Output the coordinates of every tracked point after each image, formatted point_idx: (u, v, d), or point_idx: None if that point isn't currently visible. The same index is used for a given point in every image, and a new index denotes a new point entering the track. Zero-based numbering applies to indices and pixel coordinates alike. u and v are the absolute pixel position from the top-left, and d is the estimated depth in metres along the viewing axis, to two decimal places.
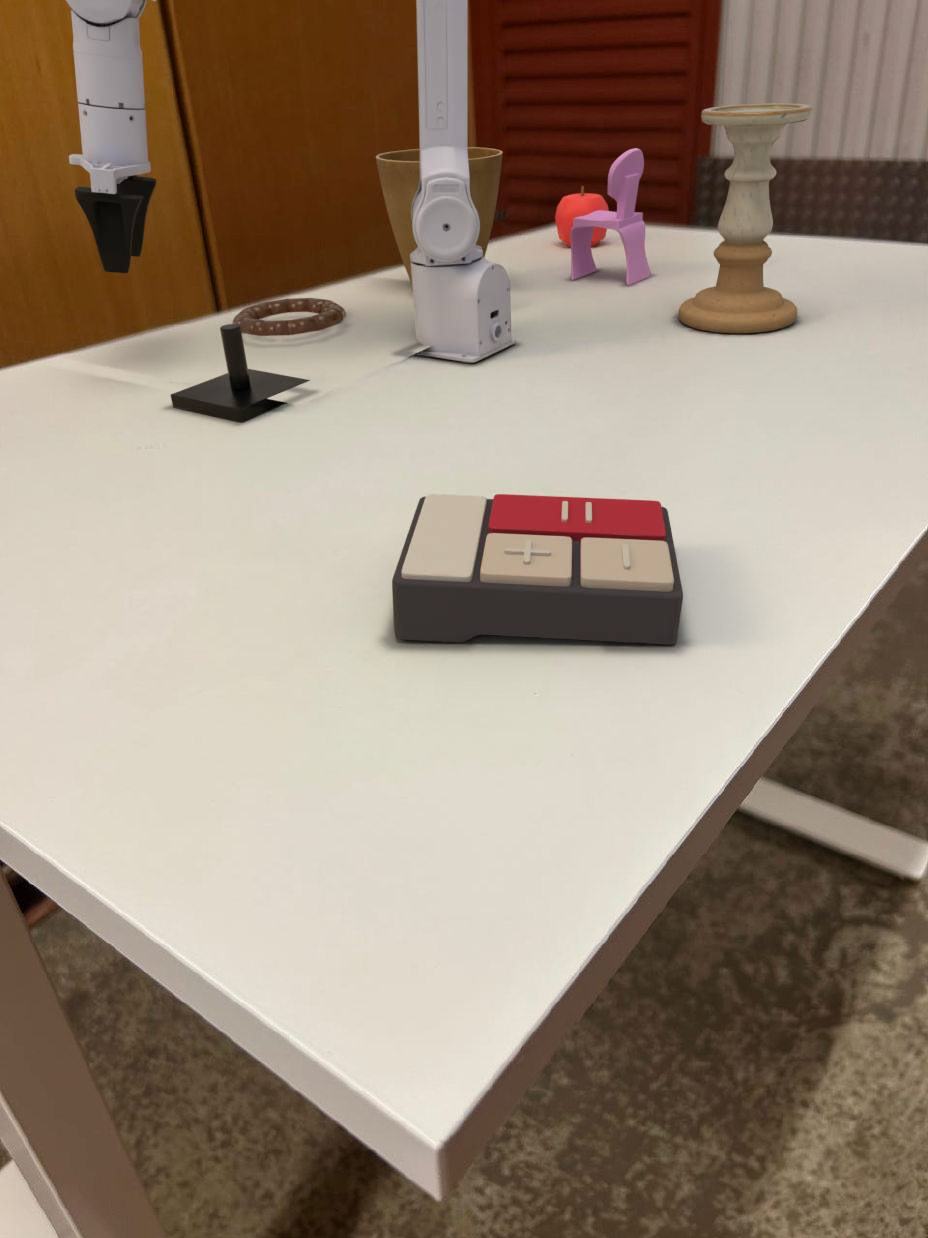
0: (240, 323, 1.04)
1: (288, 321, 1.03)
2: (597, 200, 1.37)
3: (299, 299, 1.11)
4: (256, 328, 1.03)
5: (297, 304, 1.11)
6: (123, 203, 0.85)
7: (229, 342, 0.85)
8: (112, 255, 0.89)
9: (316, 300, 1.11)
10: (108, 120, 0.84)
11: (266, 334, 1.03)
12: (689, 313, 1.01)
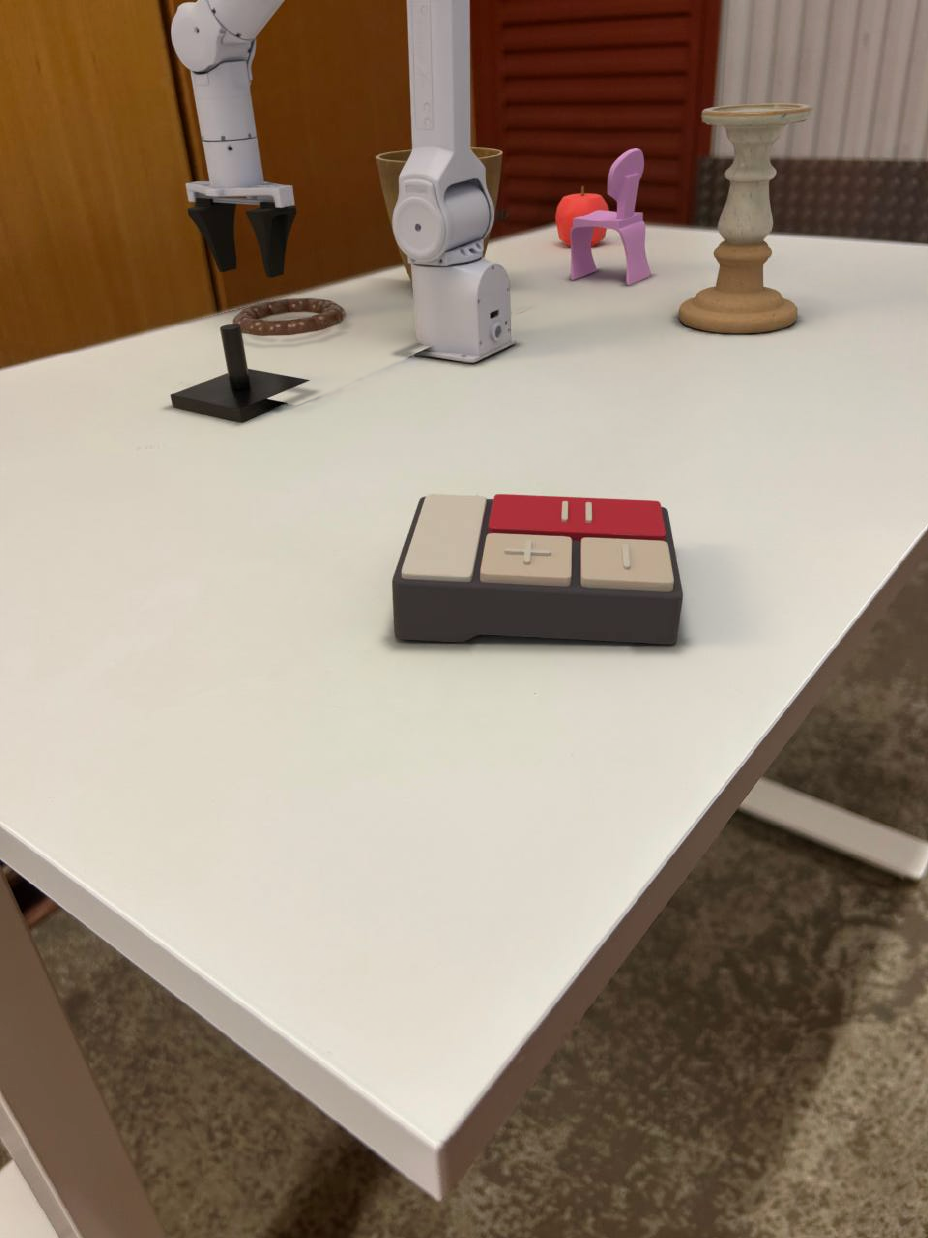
0: (240, 323, 1.04)
1: (288, 321, 1.03)
2: (597, 200, 1.37)
3: (299, 299, 1.11)
4: (256, 328, 1.03)
5: (297, 304, 1.11)
6: (290, 212, 1.03)
7: (229, 342, 0.85)
8: (275, 261, 1.05)
9: (316, 300, 1.11)
10: (251, 149, 1.00)
11: (266, 334, 1.03)
12: (689, 313, 1.01)
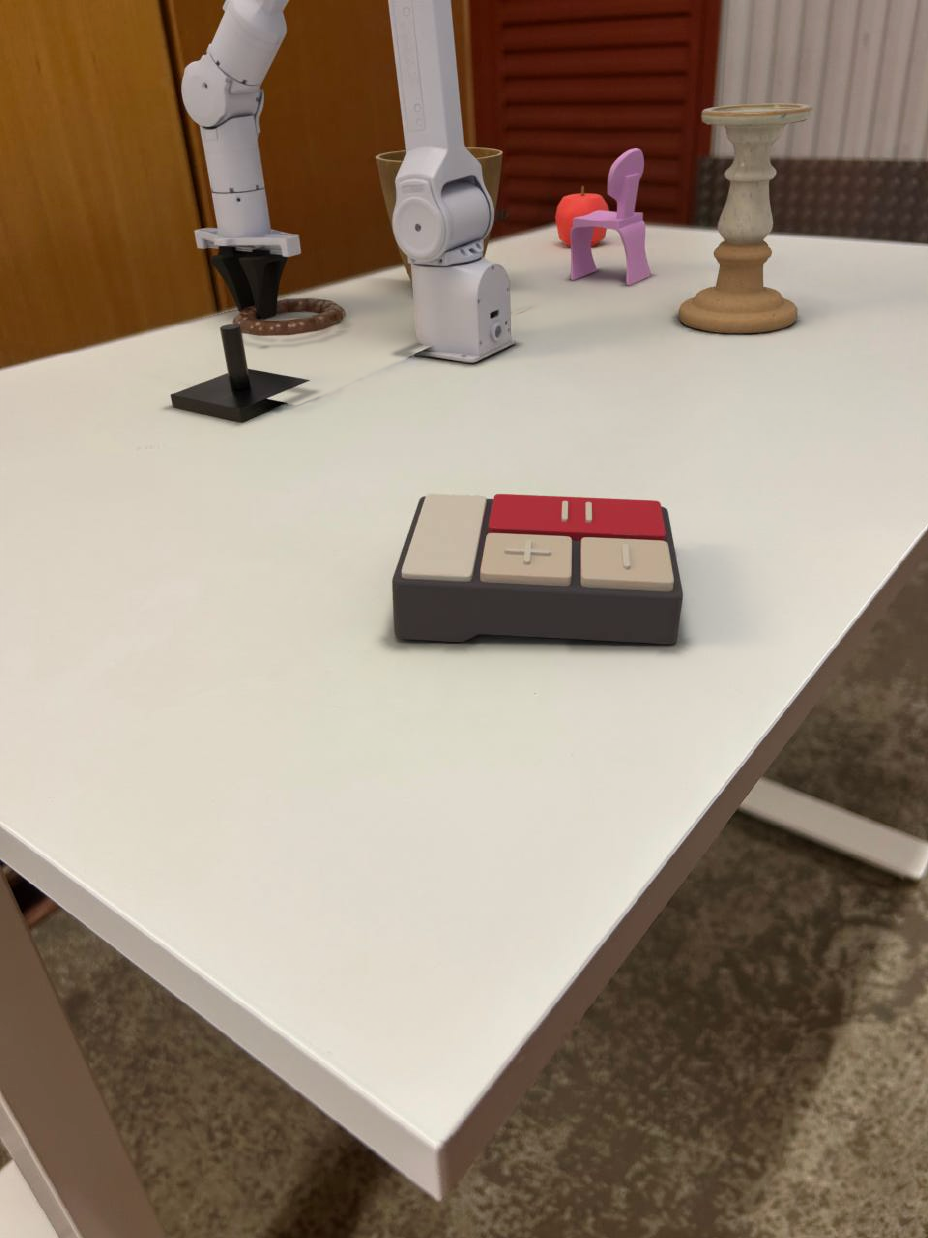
0: (240, 323, 1.04)
1: (288, 321, 1.03)
2: (597, 200, 1.37)
3: (299, 299, 1.11)
4: (256, 328, 1.03)
5: (297, 304, 1.11)
6: (282, 259, 1.06)
7: (229, 342, 0.85)
8: (267, 305, 1.09)
9: (316, 300, 1.11)
10: (258, 200, 1.03)
11: (266, 334, 1.03)
12: (689, 313, 1.01)
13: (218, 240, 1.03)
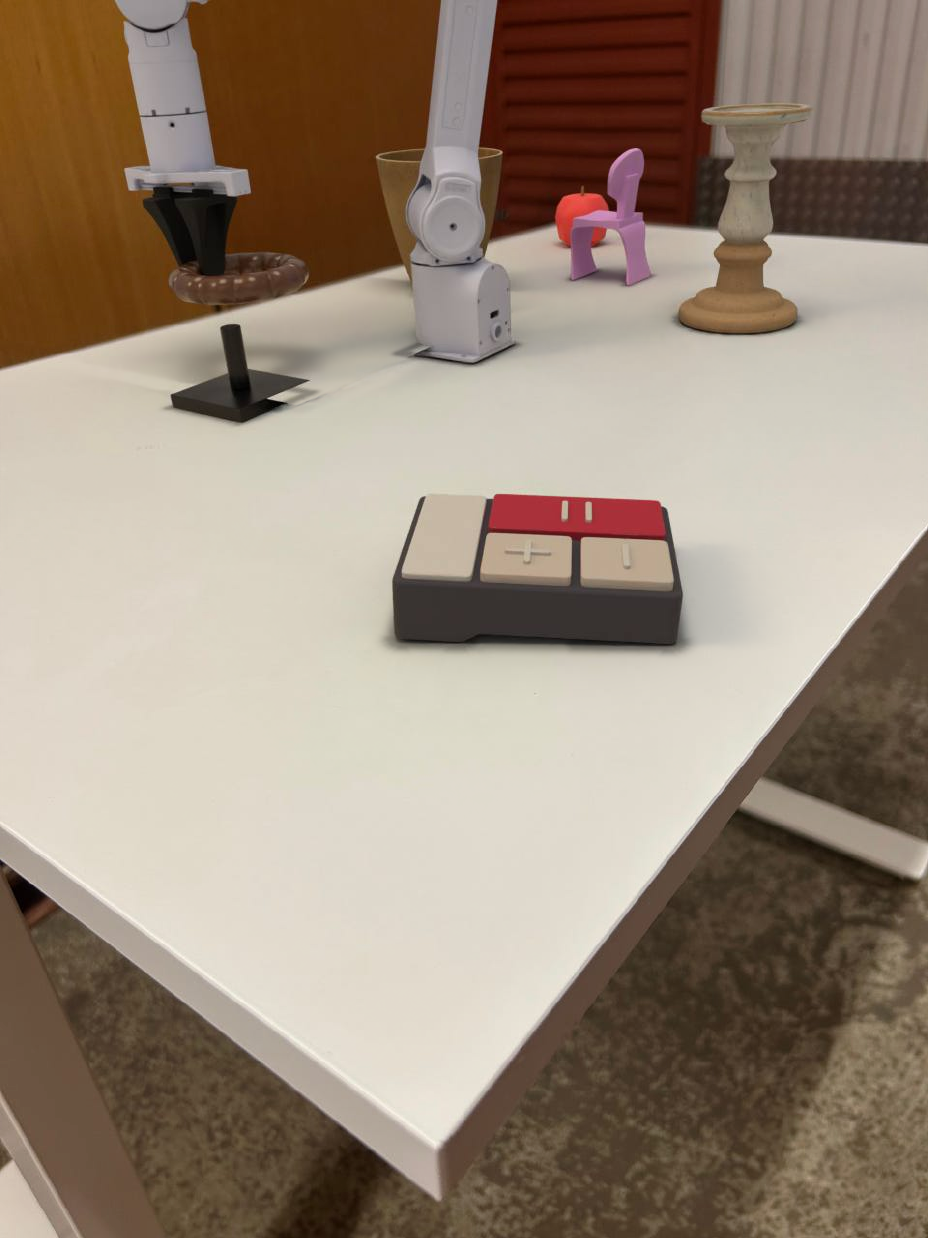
0: (176, 280, 0.85)
1: (234, 276, 0.83)
2: (597, 200, 1.37)
3: (253, 253, 0.92)
4: (195, 285, 0.83)
5: (250, 259, 0.91)
6: (229, 201, 0.87)
7: (229, 342, 0.85)
8: (213, 259, 0.89)
9: (273, 254, 0.91)
10: (198, 126, 0.83)
11: (207, 292, 0.83)
12: (689, 313, 1.01)
13: (148, 176, 0.84)
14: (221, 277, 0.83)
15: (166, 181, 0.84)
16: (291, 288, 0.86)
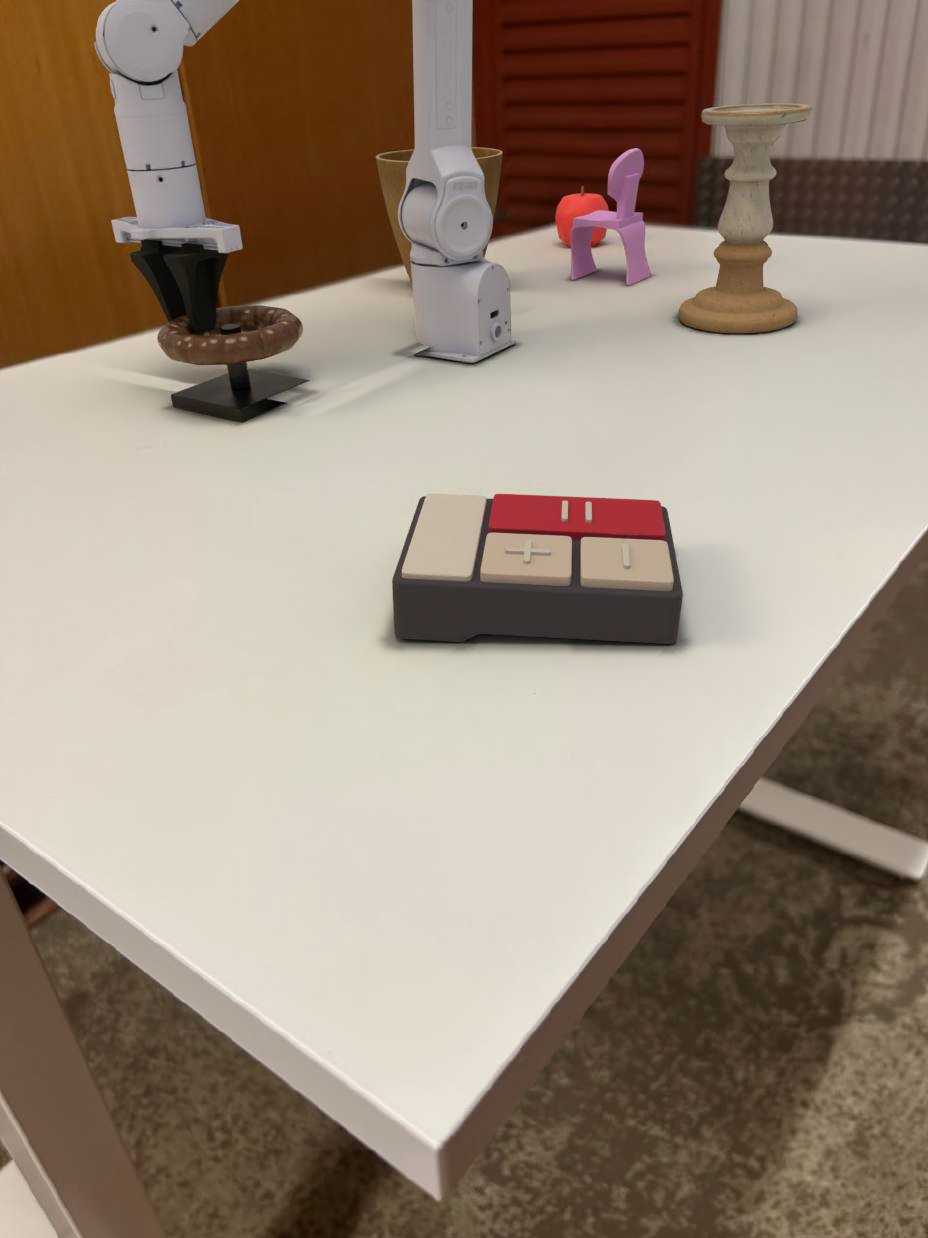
0: (165, 339, 0.82)
1: (225, 337, 0.80)
2: (597, 200, 1.37)
3: (245, 307, 0.89)
4: (184, 345, 0.80)
5: (242, 313, 0.88)
6: (220, 256, 0.84)
7: None
8: (204, 315, 0.86)
9: (266, 308, 0.88)
10: (187, 180, 0.80)
11: (197, 353, 0.80)
12: (689, 313, 1.01)
13: (136, 232, 0.80)
14: (212, 337, 0.80)
15: (154, 237, 0.81)
16: (285, 347, 0.83)
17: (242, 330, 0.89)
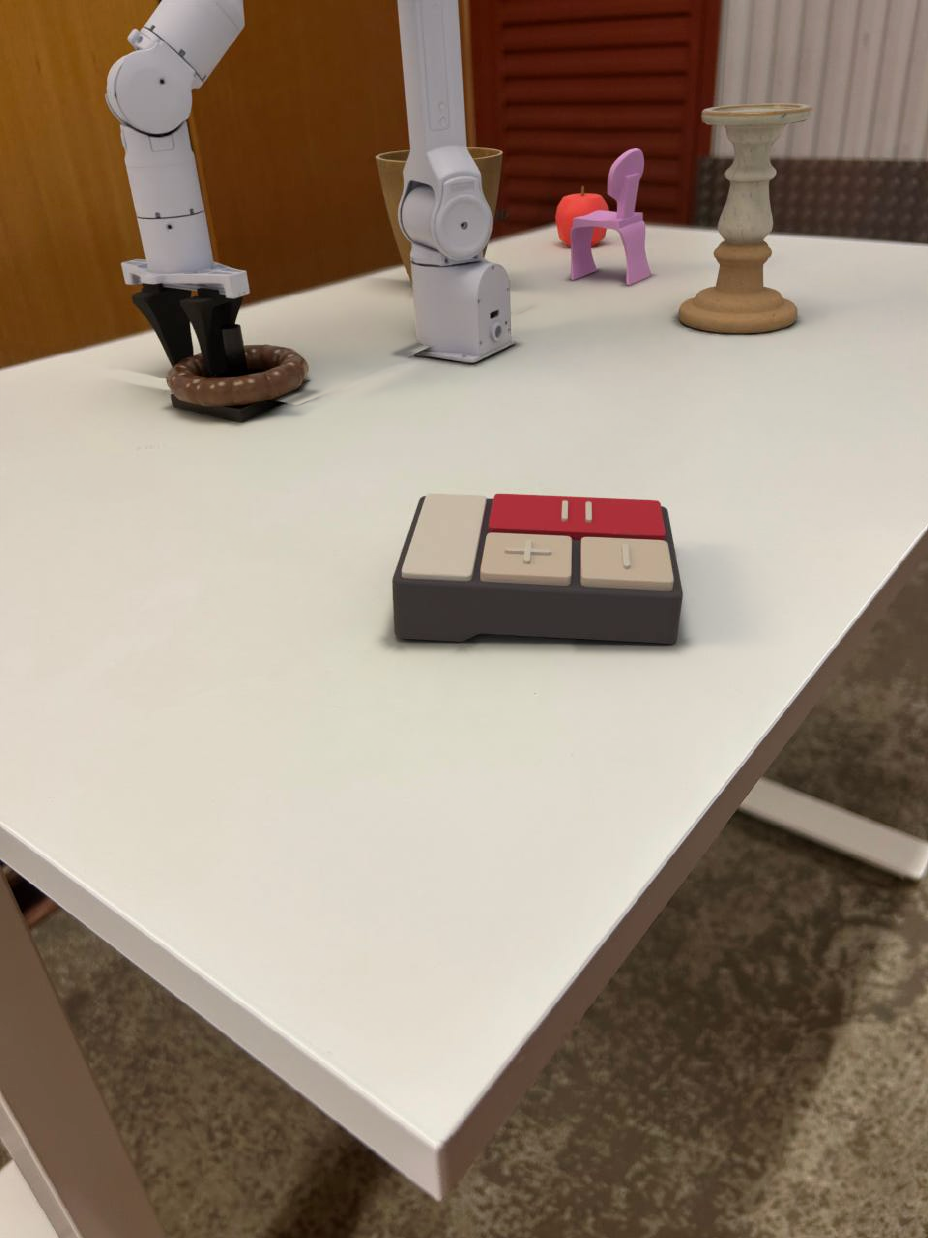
0: (174, 381, 0.84)
1: (233, 379, 0.82)
2: (597, 200, 1.37)
3: (252, 346, 0.90)
4: (193, 388, 0.82)
5: (249, 353, 0.90)
6: (235, 300, 0.85)
7: (229, 342, 0.85)
8: (219, 357, 0.87)
9: (272, 348, 0.90)
10: (196, 227, 0.82)
11: (205, 395, 0.82)
12: (689, 313, 1.01)
13: (145, 277, 0.82)
14: (220, 380, 0.82)
15: (164, 282, 0.83)
16: (291, 387, 0.85)
17: (249, 369, 0.91)
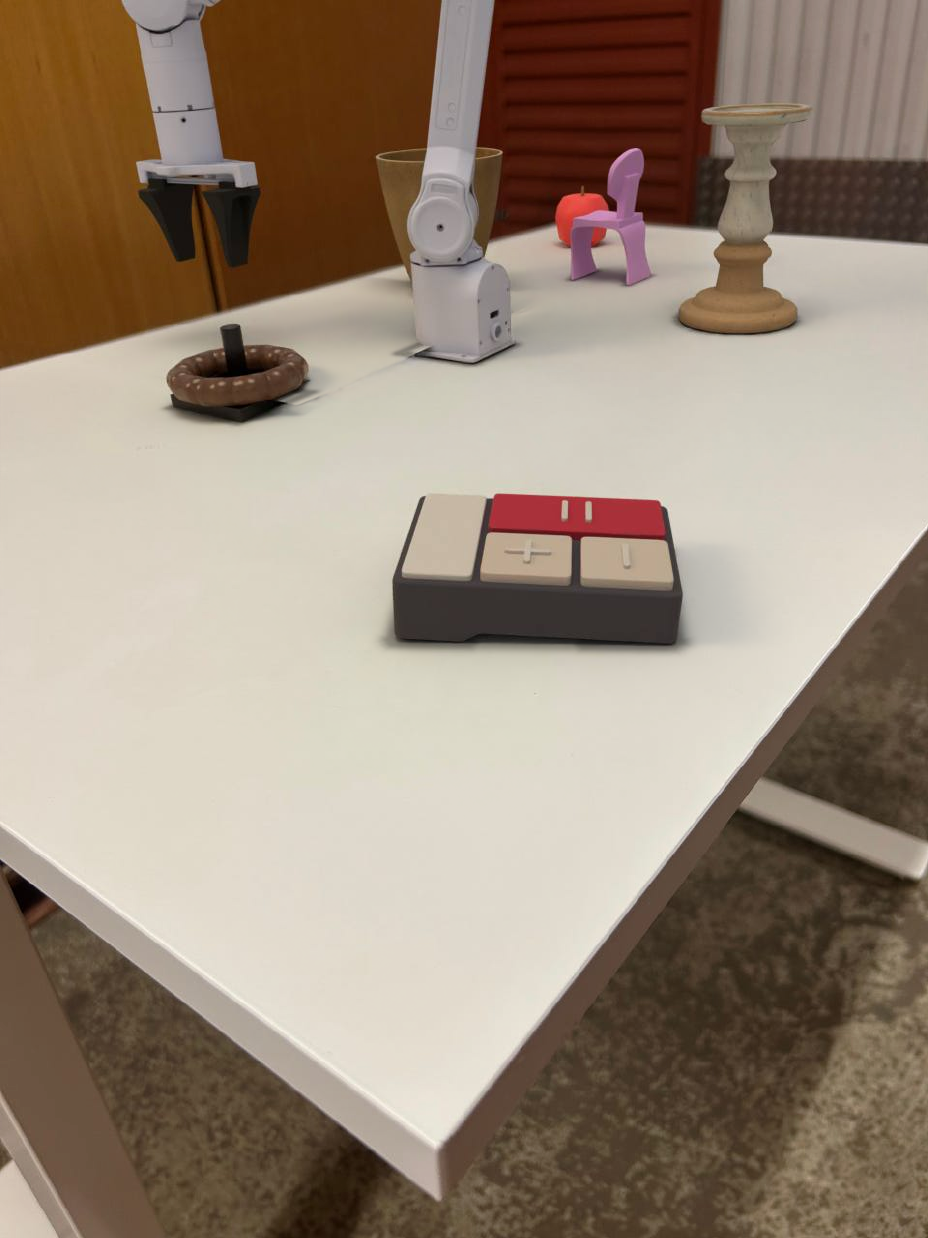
0: (174, 381, 0.84)
1: (233, 379, 0.82)
2: (597, 200, 1.37)
3: (252, 346, 0.90)
4: (193, 388, 0.82)
5: (249, 353, 0.90)
6: (253, 193, 0.91)
7: (229, 342, 0.85)
8: (237, 249, 0.93)
9: (272, 348, 0.90)
10: (207, 121, 0.88)
11: (205, 395, 0.82)
12: (689, 313, 1.01)
13: (161, 168, 0.89)
14: (220, 380, 0.82)
15: (177, 173, 0.89)
16: (291, 387, 0.85)
17: (249, 369, 0.91)
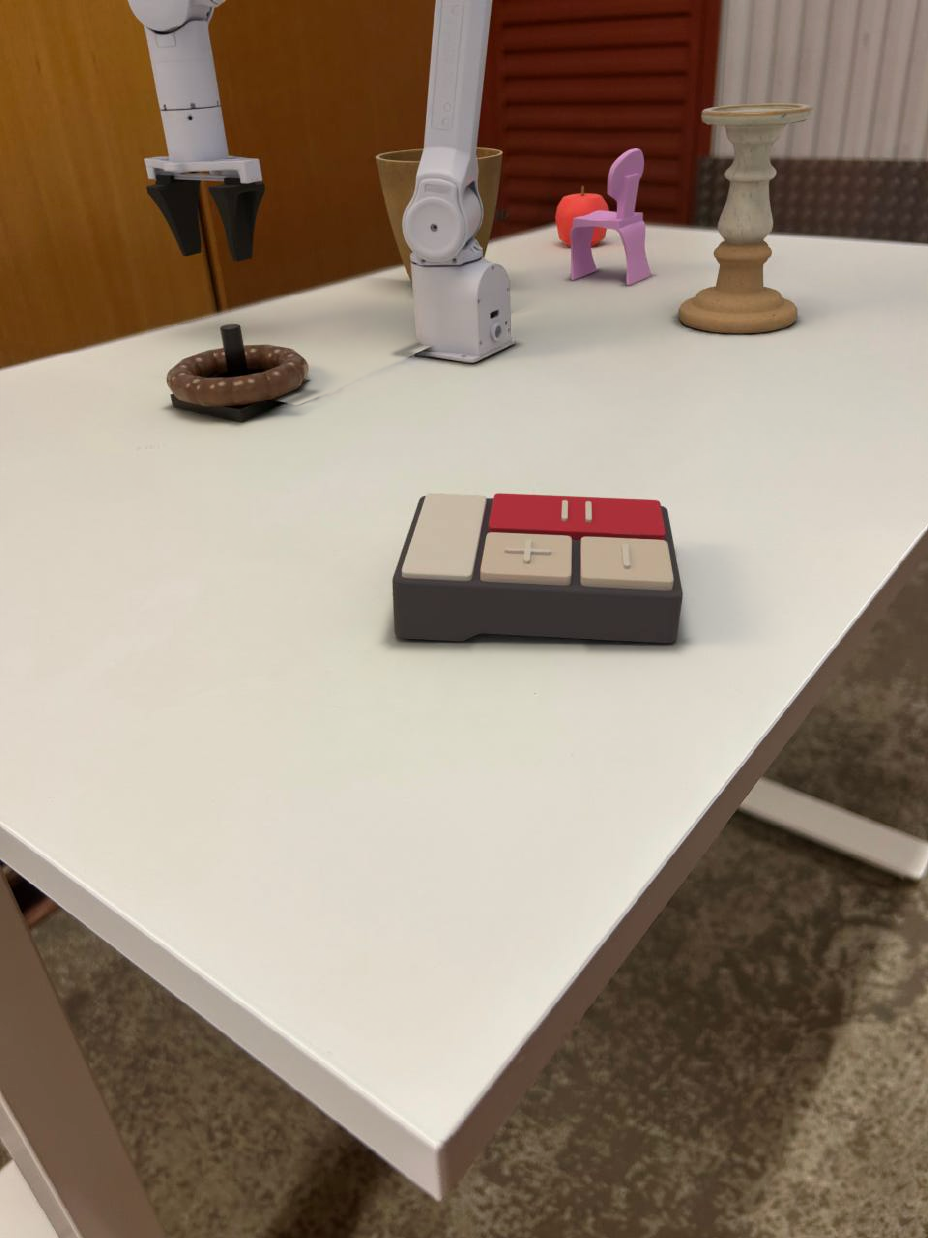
0: (174, 381, 0.84)
1: (233, 379, 0.82)
2: (597, 200, 1.37)
3: (252, 346, 0.90)
4: (193, 388, 0.82)
5: (249, 353, 0.90)
6: (258, 189, 0.93)
7: (229, 342, 0.85)
8: (242, 244, 0.96)
9: (272, 348, 0.90)
10: (213, 119, 0.91)
11: (205, 395, 0.82)
12: (689, 313, 1.01)
13: (168, 165, 0.91)
14: (220, 380, 0.82)
15: (184, 169, 0.92)
16: (291, 387, 0.85)
17: (249, 369, 0.91)
